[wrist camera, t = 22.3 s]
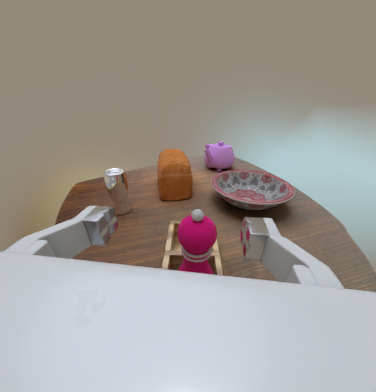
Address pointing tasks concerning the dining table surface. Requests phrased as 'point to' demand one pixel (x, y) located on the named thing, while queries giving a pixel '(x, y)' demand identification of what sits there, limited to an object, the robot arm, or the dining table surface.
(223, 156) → the teapot
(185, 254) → the pepper mill
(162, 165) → the bread
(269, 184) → the ceramic bowl
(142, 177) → the dining table surface
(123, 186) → the metal cup
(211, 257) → the divided wooden box
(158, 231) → the dining table surface
